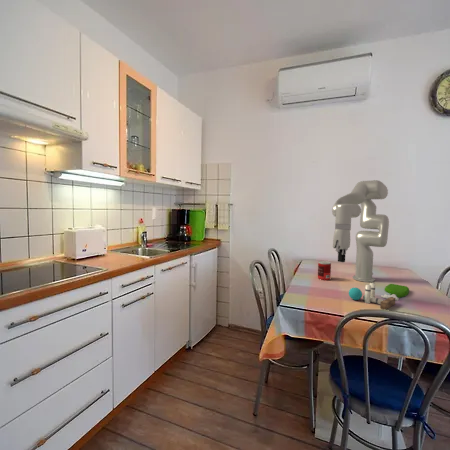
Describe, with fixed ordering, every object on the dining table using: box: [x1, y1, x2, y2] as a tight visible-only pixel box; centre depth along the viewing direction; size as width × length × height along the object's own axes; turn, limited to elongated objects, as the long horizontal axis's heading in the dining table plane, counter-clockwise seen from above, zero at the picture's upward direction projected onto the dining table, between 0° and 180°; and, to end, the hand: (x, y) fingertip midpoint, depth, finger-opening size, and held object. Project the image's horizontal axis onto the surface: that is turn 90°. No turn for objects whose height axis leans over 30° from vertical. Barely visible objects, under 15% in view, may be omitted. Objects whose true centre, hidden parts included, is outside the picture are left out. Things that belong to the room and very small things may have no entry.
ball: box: [348, 287, 363, 301], centre depth 129 cm, size 6×6×6 cm
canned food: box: [317, 260, 332, 281], centre depth 167 cm, size 8×8×11 cm
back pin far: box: [369, 282, 376, 298], centre depth 128 cm, size 2×2×8 cm
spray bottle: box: [380, 283, 410, 302], centre depth 139 cm, size 3×11×24 cm
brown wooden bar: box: [380, 297, 396, 310], centre depth 120 cm, size 12×2×3 cm, turn 129°
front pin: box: [362, 294, 385, 305], centre depth 125 cm, size 2×2×8 cm
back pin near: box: [364, 284, 371, 304], centre depth 125 cm, size 2×2×8 cm
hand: (341, 261), depth 137 cm, fingers closed
